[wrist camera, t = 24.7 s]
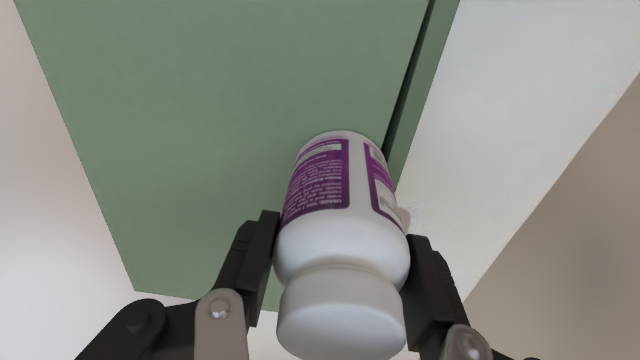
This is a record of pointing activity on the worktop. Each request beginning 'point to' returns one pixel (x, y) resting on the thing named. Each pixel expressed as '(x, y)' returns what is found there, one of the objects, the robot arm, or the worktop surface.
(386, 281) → the pill bottle
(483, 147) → the worktop surface
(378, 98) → the cupboard
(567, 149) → the worktop surface
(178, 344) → the robot arm
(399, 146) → the cupboard door
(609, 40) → the worktop surface
